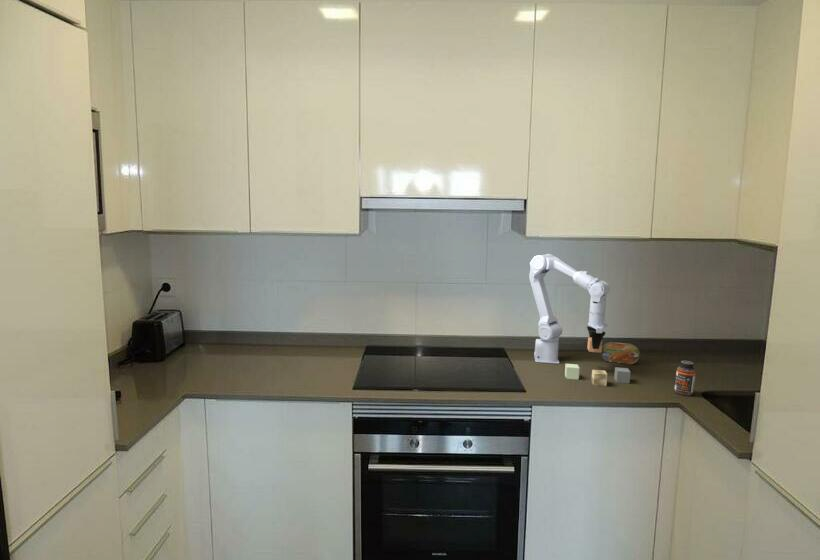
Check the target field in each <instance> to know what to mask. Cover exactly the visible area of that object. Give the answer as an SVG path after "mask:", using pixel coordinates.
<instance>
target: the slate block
mask: <svg viewBox="0 0 820 560" xmlns="http://www.w3.org/2000/svg"><path fill="white" fill-rule="evenodd" d="M613 376H614V377H613V379H614V381H615V382H616V383H619V384H628V383H630V382H631V371H630V369H629V368H628V367H618V366H617V367H616V366H615V367H614V375H613Z"/></svg>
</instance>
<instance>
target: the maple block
mask: <svg viewBox="0 0 820 560" xmlns="http://www.w3.org/2000/svg"><path fill="white" fill-rule="evenodd" d="M590 381H591V383H592V385H593V386H597V387H599V386H600V387H607V384H608V383H607V382H608V373H607V371H606V370H601V369H592V370H591V380H590Z"/></svg>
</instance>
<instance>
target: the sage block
mask: <svg viewBox="0 0 820 560" xmlns="http://www.w3.org/2000/svg"><path fill="white" fill-rule="evenodd" d="M564 365H565V367H564V377H565V379H567V380H576V381H577V380H579V379H580V366H579V364H574V363H565V364H564Z"/></svg>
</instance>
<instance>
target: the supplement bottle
mask: <svg viewBox="0 0 820 560" xmlns="http://www.w3.org/2000/svg"><path fill="white" fill-rule="evenodd" d="M694 365H695V364H694V362H693V361H690V360H681V361H680V365H679V366H678V367H677V368H676V373H675V380H674V381H675V382H674V392H675V393H676V394H678V395H681V396H685V397H688V396H692V395H693V394H694V389H695V381H696V373H697V372H696V369H695V368H694Z"/></svg>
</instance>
